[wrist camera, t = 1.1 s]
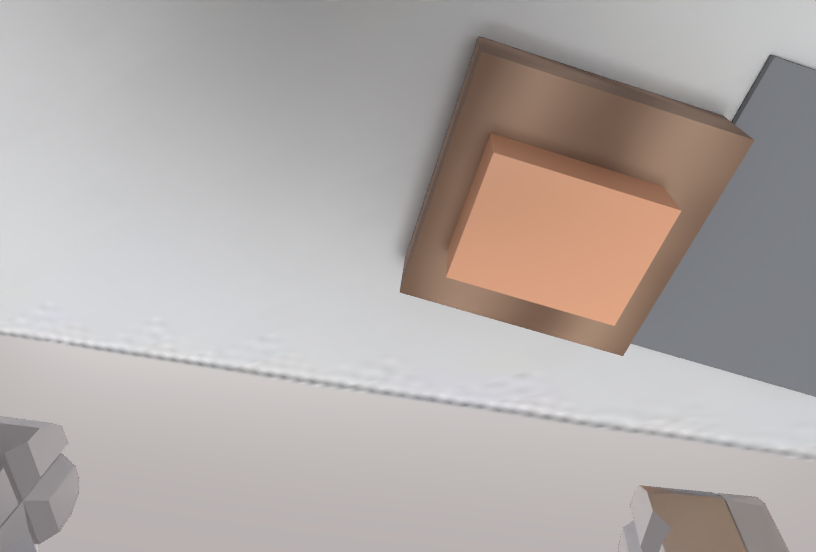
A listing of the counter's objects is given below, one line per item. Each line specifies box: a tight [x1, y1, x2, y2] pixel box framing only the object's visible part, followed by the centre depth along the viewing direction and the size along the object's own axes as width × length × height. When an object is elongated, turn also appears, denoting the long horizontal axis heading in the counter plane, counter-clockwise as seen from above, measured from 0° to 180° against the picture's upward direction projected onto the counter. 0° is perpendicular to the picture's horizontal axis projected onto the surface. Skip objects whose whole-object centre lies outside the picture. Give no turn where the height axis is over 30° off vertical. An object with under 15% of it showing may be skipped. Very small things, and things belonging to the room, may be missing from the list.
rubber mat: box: [631, 55, 816, 397], centre depth 31 cm, size 14×16×1 cm
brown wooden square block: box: [400, 37, 754, 356], centre depth 30 cm, size 12×12×4 cm
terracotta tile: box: [446, 133, 681, 326], centre depth 27 cm, size 8×6×2 cm
